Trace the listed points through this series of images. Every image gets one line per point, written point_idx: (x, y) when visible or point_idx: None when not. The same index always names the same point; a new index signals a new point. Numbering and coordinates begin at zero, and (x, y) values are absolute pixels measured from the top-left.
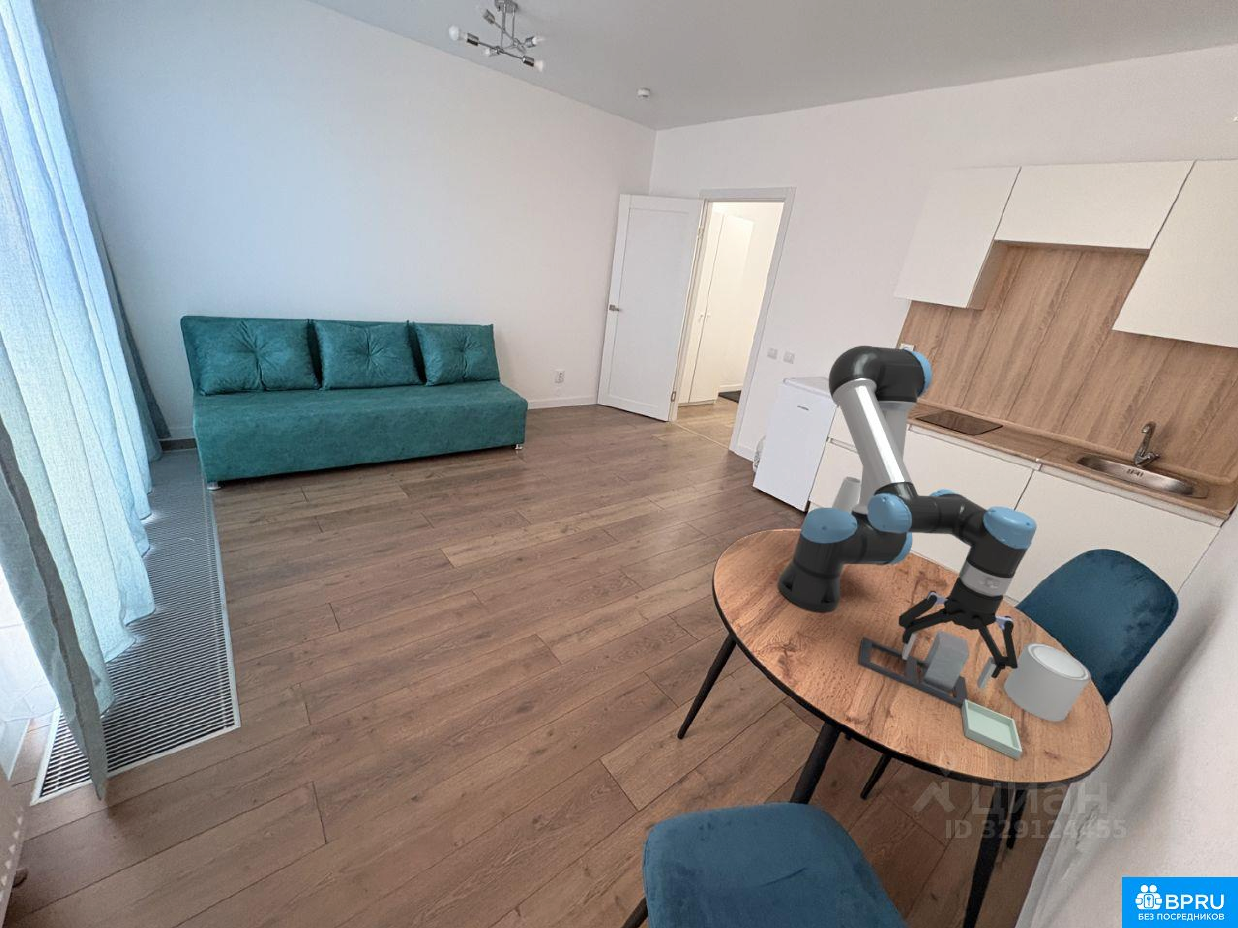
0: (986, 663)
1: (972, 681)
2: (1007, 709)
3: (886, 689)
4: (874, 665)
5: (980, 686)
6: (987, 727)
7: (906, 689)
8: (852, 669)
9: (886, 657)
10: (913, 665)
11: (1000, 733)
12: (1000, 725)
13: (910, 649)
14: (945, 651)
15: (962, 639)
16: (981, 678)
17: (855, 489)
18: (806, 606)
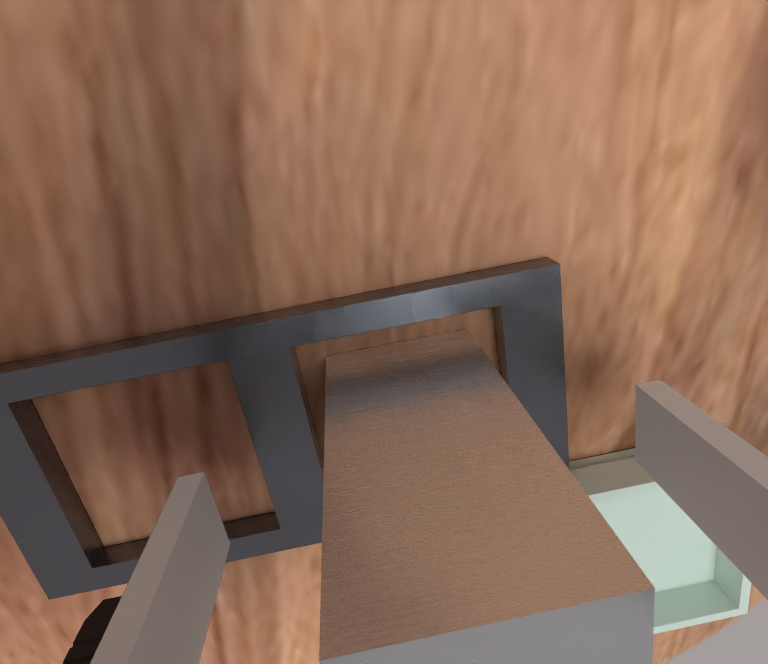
0: (765, 500)
1: (600, 209)
2: (747, 306)
3: (235, 620)
4: (122, 575)
5: (651, 474)
6: (633, 526)
7: (305, 555)
8: (65, 627)
9: (142, 411)
10: (284, 407)
11: (680, 516)
12: None
13: (207, 626)
14: None
15: (601, 618)
16: (673, 463)
17: None
18: None
